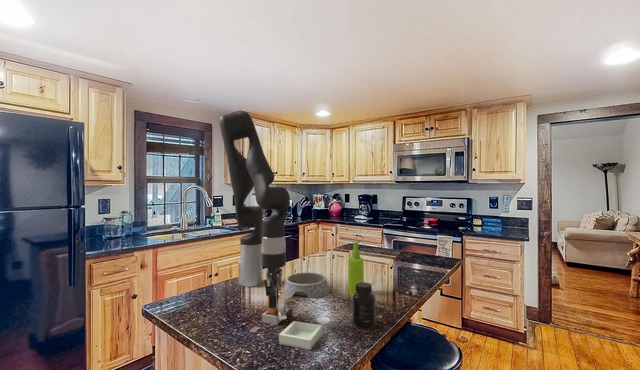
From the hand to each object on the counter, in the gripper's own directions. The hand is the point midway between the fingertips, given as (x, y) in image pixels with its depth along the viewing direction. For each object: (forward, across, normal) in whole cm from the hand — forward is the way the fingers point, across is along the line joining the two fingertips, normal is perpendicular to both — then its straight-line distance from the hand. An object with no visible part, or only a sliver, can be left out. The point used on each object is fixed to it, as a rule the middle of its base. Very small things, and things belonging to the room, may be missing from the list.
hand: (273, 305), depth 97 cm
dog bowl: (+5, +28, -6) cm, 29 cm away
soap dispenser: (+5, +28, -26) cm, 38 cm away
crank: (+3, +2, -2) cm, 4 cm away
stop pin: (+4, 0, 0) cm, 4 cm away
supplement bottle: (+5, -1, -28) cm, 28 cm away
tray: (+4, -12, -10) cm, 16 cm away
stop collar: (+4, 0, 0) cm, 4 cm away
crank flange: (+4, +1, +2) cm, 5 cm away
